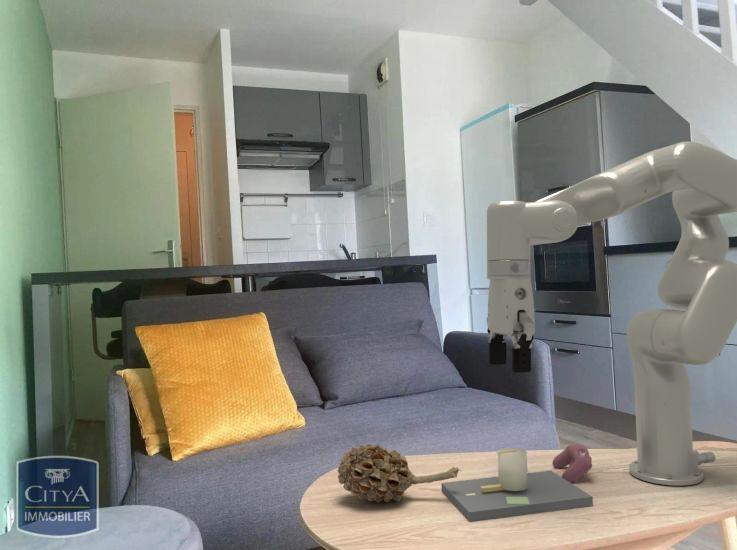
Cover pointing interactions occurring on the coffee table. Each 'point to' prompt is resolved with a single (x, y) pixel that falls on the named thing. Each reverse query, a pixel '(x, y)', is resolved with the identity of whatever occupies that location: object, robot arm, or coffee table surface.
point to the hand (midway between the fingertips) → (509, 367)
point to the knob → (510, 471)
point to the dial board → (515, 497)
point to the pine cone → (381, 473)
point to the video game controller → (573, 462)
